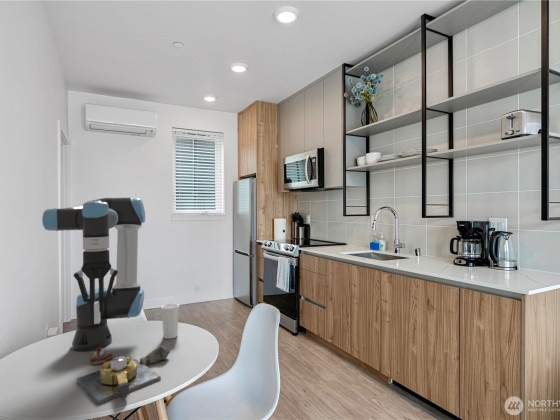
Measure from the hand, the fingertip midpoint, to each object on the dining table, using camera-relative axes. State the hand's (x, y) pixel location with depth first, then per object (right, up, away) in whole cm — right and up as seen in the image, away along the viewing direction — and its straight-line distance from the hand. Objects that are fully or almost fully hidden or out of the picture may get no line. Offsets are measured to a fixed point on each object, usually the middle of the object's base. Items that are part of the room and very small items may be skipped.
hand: (97, 322), depth 109 cm
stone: (+12, -22, +20) cm, 32 cm away
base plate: (+4, -22, +6) cm, 23 cm away
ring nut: (+7, -20, +2) cm, 21 cm away
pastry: (-10, -23, +21) cm, 33 cm away
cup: (+9, -22, +45) cm, 51 cm away
